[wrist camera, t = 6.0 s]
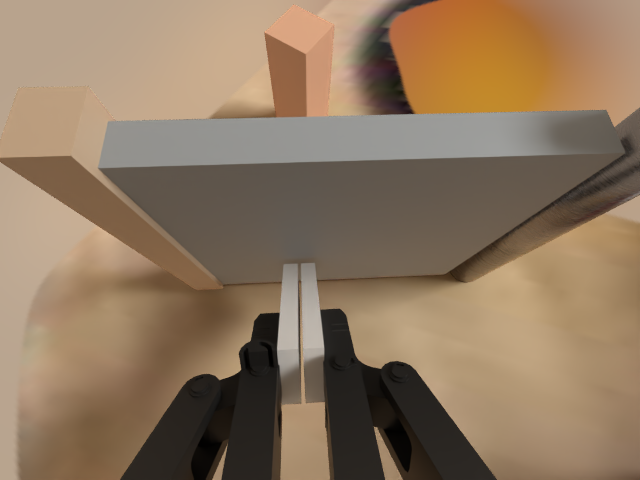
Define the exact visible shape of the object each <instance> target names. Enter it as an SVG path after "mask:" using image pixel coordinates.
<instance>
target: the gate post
mask: <svg viewBox="0 0 640 480" xmlns="http://www.w3.org/2000/svg"><path fill="white" fill-rule="evenodd" d="M614 128H615V130H616V133H617V135H618V137H619V139H620V142H621V144H622V146H623V148H624V150H625V154H623V155H622V156H620V157H619V158H617V159H616V160H614V161H613V162H611V163H610V164H608V165H607V166H605V167H604V168H602V169H601V170H599V171H598V172H596V173H595V174H593V175H592V176H591V177H589V178H588V179H586V180H585V181H583V182H582V183H580V184H579V185H577V186H576V187H574V188H573V189H571V190H570V191H568V192H567V193H565V194H564V195H562V196H561V197H559V198H558V199H556V200H555V201H553V202H552V203H550V204H549V205H547V206H546V207H544V208H543V209H541V210H540V211H538V212H537V213H535V214H534V215H532V216H531V217H529V218H528V219H527V220H525V221H524V222H522V223H521V224H519V225H518V226H516V227H515V228H513V229H512V230H510V231H509V232H507V233H506V234H504V235H503V236H501V237H500V238H498V239H497V240H495V241H494V242H492V243H491V244H489V245H488V246H486V247H485V248H483V249H482V250H480V251H479V252H477V253H476V254H474V255H473V256H471V257H470V258H468V259H467V260H466V261H464V262H463V263H461V264H460V265H458V266H457V267H455V268H454V269H452V270H451V271H450V272H451V274H452V275H453V276H454V277H455V278H456V279H458V280H460V281H462V282H471V281H474V280H476V279H478V278H480V277H482V276H484V275H486V274H487V273H489V272H491V271H493V270H495V269H497V268H499V267H501V266H503V265H505V264H507V263H509V262H511V261H513V260H515V259H517V258H519V257H520V256H522V255H524V254H526V253H528V252H530V251H532V250H534V249H536V248H538V247H540V246H542V245H544V244H546V243H548V242H550V241H551V240H553V239H555V238H557V237H559V236H561V235H563V234H565V233H567V232H569V231H571V230H573V229H575V228H577V227H579V226H581V225H583V224H584V223H586V222H588V221H590V220H592V219H594V218H596V217H598V216H600V215H602V214H604V213H606V212H608V211H610V210H611V209H613V208H616V207H617V206H619V205H621V204H623V203H625V202H627V201H629V200H631V199H633V198H635V197H637V196H639V195H640V108H639V109H637V110H636V111H635V112H633V113H632V114H631V115H630V116H628V117H627V118H626V119H625V120H623V121H622V122H621V123H620V124H618V125H617V126H616V127H614Z"/></svg>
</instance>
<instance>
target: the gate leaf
mask: <svg viewBox="0 0 640 480" xmlns="http://www.w3.org/2000/svg"><path fill="white" fill-rule="evenodd" d="M623 154H625V150H624V148H623V146H622V144H621V142H620V139H619V137H618V135H617V133H616V130H615V128H614V126H613V124H612V122H611V119H610V117H609V115H608V113H607V111H606V110H585V111H584V110H582V111H541V112H540V111H539V112H500V113H499V112H498V113H497V112H494V113H453V114H452V113H450V114H406V115H362V116H318V117H274V118H230V119H186V120H142V121H116V120H115V119H114V118H113V117H112V115H111V114H110V113H109V112H108V110H107V109H106V108H105V106H104V105H103V104H102V103H101V102H100V100H99V99H98V98H97V97H96V95H95V94H94V93H93V91H92V90H91V89H90V88H89V87H88V86H80V87H27V88H26V87H25V88H18V91H17V93H16V96H15V99H14V102H13V105H12V108H11V110H10V113H9V116H8V119H7V122H6V125H5V128H4V130H3V133H2V136H1V139H0V162H1V163H3V164H4V165H6V166H7V167H9V168H10V169H12V170H13V171H15V172H16V173H18V174H19V175H21V176H22V177H24V178H25V179H27V180H28V181H30V182H32V183H33V184H35V185H36V186H38V187H39V188H41V189H42V190H44V191H45V192H47V193H49V194H50V195H51V196H53V197H54V198H56V199H58V200H59V201H61V202H62V203H64V204H65V205H67V206H68V207H70V208H71V209H73V210H74V211H76V212H77V213H79V214H80V215H82V216H84V217H85V218H87V219H88V220H90V221H91V222H93V223H94V224H96V225H97V226H99V227H100V228H102V229H103V230H105V231H106V232H108V233H109V234H111V235H112V236H114V237H116V238H117V239H119V240H120V241H122V242H123V243H125V244H126V245H128V246H129V247H131V248H132V249H134V250H135V251H137V252H138V253H140V254H142V255H143V256H145V257H146V258H148V259H149V260H151V261H152V262H154V263H155V264H157V265H158V266H160V267H161V268H163V269H164V270H166V271H167V272H169V273H171V274H172V275H174V276H175V277H177V278H178V279H180V280H181V281H183V282H184V283H186V284H187V285H189V286H190V287H192V288H193V289H195V290H207V289H223V284H243V283H265V282H282V279H283V266H284V264H298V280H299V281H301V263H315V268H316V278H317V280H331V279H354V278H376V277H398V276H420V275H442V274H446V273H448V272H449V271H451V270H452V269H454V268H455V267H457V266H458V265H460V264H461V263H463V262H464V261H466V260H467V259H468V258H470V257H471V256H473V255H474V254H476V253H477V252H479V251H480V250H482V249H483V248H485V247H486V246H488V245H489V244H491V243H492V242H494V241H495V240H497V239H498V238H500V237H501V236H503V235H504V234H506V233H507V232H509V231H510V230H512V229H513V228H515V227H516V226H518V225H519V224H521V223H522V222H524V221H525V220H527V219H528V218H529V217H531V216H532V215H534V214H535V213H537V212H538V211H540V210H541V209H543V208H544V207H546V206H547V205H549V204H550V203H552V202H553V201H555V200H556V199H558V198H559V197H561V196H562V195H564V194H565V193H567V192H568V191H570V190H571V189H573V188H574V187H576V186H577V185H579V184H580V183H582V182H583V181H585V180H586V179H588V178H589V177H591V176H592V175H593V174H595V173H596V172H598V171H599V170H601V169H602V168H604V167H605V166H607V165H608V164H610V163H611V162H613V161H614V160H616V159H617V158H619V157H620V156H622V155H623Z"/></svg>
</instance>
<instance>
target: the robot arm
mask: <svg viewBox="0 0 640 480" xmlns="http://www.w3.org/2000/svg"><path fill="white" fill-rule="evenodd" d="M301 287H302V325H303V357H304V377H305V397H306V403H314V402H325V428H326V431H327V444H328V457H329V470H330V480H385V477H384V472H383V468H382V463H381V459H380V454H379V449H378V445H377V440H376V436H375V431H374V427H378V430H379V432H380V434H381V436H382V438H383V440H384V442H385V444H386V446H387V448H388V450H389V452H390V454H391V456H392V458H393V460H394V462H395V464H396V466H397V468H398V470H399V472H400V474H401V476H402V478H403V480H497V479H496V478H495V476H494V475H493V474H492V472H491V471H490V470H489V468H488V467H487V466H486V464H485V463H484V462H483V460H482V459H481V458H480V456H479V455H478V454H477V452H476V451H475V450H474V448H473V447H472V446H471V444H470V443H469V442H468V440H467V439H466V438H465V436H464V435H463V433H462V432H461V431H460V429H459V428H458V427H457V425H456V424H455V423H454V421H453V420H452V419H451V417H450V416H449V415H448V413H447V412H446V411H445V409H444V408H443V407H442V405H441V404H440V403H439V401H438V400H437V399H436V397H435V396H434V395H433V393H432V392H431V391H430V389H429V388H428V386H427V385H426V384H425V382H424V381H423V380H422V378H421V377H420V376H419V374H418V373H417V372H416V370H415V369H413V368H412V367H411V366H410V365H408V364H406V363H404V362H399V361H394V362H389V363H387V364H385V365H384V366H383V367H382V369H378V368H373V367H370V366H367V365H365V364H363V363H362V362H360V361H359V360H358V359H357V357H356V355H355V353H354V348H353V344H352V340H351V335H350V331H349V326H348V322H347V317H346V315H345V314H344V312H343V311H342V310H341V309H326V310H320V305H319V296H318V287H317V278H316V268H315V263H301ZM239 357H240V364H241V371H240V372H238V373H237V374H235V375H233V376H231V377H228V378H225V379H222V380H219V379H218V378H217V377H216V376H214V375H210V374H202V375H199V376H195V377H193V378H192V379H190V380H189V381H187V382H186V384H185V385H184V386H183V387H182V388H181V390H180V391H179V393H178V394H177V396H176V397H175V399H174V400H173V402H172V403H171V405H170V406H169V408H168V409H167V411H166V412H165V414H164V415H163V417H162V418H161V420H160V421H159V423H158V424H157V426H156V427H155V429H154V430H153V432H152V433H151V435H150V436H149V438H148V439H147V441H146V442H145V444H144V445H143V447H142V448H141V450H140V451H139V452H138V454H137V455H136V457H135V458H134V460H133V461H132V463H131V464H130V466H129V467H128V469H127V470H126V472H125V473H124V475H123V476H122V478H121V479H120V480H212V478H213V476H214V474H215V472H216V469H217V467H218V465H219V462H220V460H221V458H222V455H223V453H224V451H225V448H226V446H227V444H228V446H227V452H226V457H225V463H224V468H223V474H222V479H221V480H280V468H281V436H282V411H281V403H282V405H285V404H299V403H301V350H300V299H299V280H298V264H284V266H283V279H282V292H281V305H280V313H266V314H260V315H259V316H258V317H257V319H256V320H255V321H254V327H253V332H252V337H251V341H250V342H248V343H246V344H245V345H244V346H243V347H242V348H241V350H240V352H239ZM373 426H374V427H373Z"/></svg>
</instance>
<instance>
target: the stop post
mask: <svg viewBox="0 0 640 480" xmlns="http://www.w3.org/2000/svg"><path fill="white" fill-rule="evenodd" d="M333 37H334V24H332V23H330V22H328V21H326V20H324V19H322V18H320V17H318V16H316V15H314V14H312V13H310V12H308V11H306V10H304V9H302V8H300V7H298V6H296V5H293V6H292V7H291V8H290V9H289V10H288V11H287V12H285V14H283V15H282V16H281V17H280V18H279V19H278V20H277V21H276V22H275V23H274V24H273V25H272V26H271V27H270V28H268V29H267V30H266V31H265V40H266V48H267V55H268V62H269V69H270V77H271V84H272V91H273V99H274V106H275V113H276V117H318V116H328V107H329V93H330V79H331V65H332V51H333Z"/></svg>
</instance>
